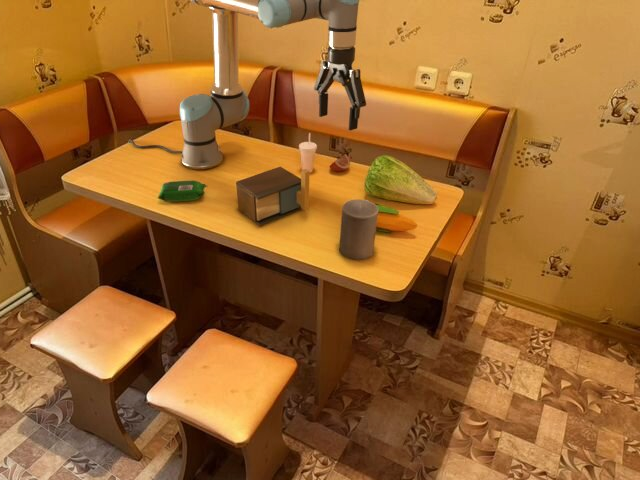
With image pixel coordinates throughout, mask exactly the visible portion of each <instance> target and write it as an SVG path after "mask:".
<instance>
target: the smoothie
mask: <svg viewBox="0 0 640 480" xmlns="http://www.w3.org/2000/svg"><path fill="white" fill-rule="evenodd" d="M298 149H299V154H300V155H299V156H300V162H301V163H300V164H301V170H304V169H306V170H308V171H309V174H310V173H312V172H313V170H314V166H315V165H314V163H315V158H316V151H317V149H318V144H316V143H315V142H312V141H311V132H309V133H308V141H304V142H303V141H302V142H300V143H299V144H298Z"/></svg>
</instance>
